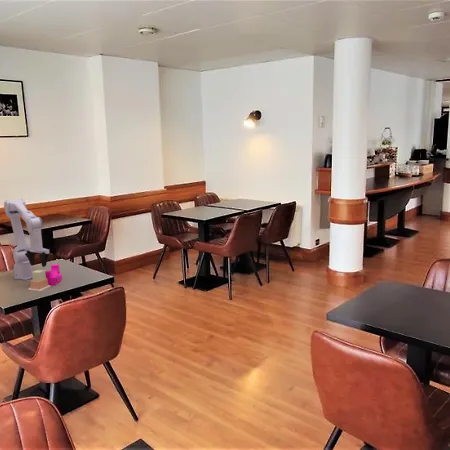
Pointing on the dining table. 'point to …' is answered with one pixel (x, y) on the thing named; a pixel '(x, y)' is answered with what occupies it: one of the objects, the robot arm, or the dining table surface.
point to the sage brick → (38, 275)
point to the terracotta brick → (39, 284)
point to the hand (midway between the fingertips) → (38, 265)
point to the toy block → (53, 275)
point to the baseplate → (39, 289)
